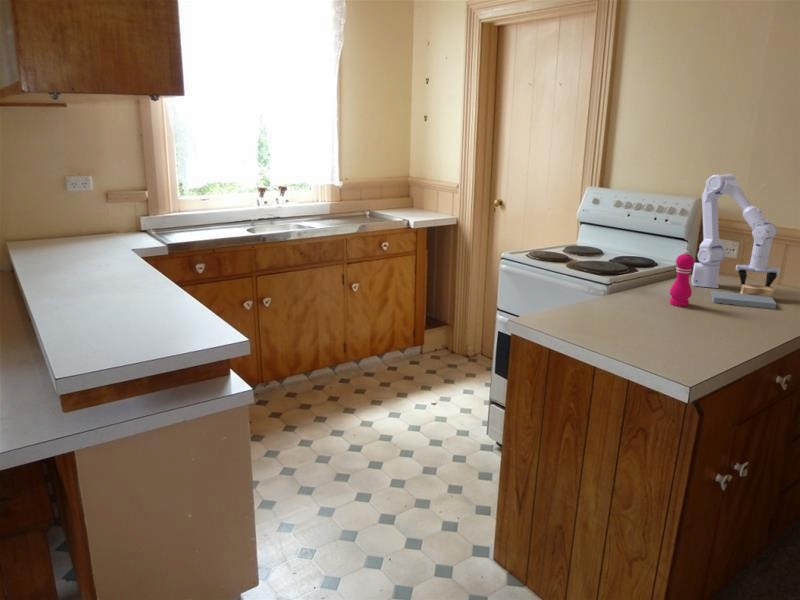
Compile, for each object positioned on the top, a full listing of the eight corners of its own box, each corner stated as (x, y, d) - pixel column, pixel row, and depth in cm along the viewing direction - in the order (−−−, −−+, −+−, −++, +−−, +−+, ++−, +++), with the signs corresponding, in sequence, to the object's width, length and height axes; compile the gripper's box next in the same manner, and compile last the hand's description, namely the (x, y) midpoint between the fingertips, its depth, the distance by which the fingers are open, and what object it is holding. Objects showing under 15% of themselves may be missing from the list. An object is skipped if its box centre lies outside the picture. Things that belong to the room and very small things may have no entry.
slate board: (713, 302, 230) (714, 297, 229) (710, 295, 239) (711, 290, 238) (775, 309, 223) (776, 303, 223) (770, 301, 232) (771, 296, 232)
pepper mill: (668, 305, 226) (675, 251, 220) (668, 300, 232) (675, 247, 226) (690, 308, 223) (698, 253, 217) (689, 302, 229) (697, 249, 224)
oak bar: (741, 298, 235) (743, 287, 234) (739, 295, 240) (741, 283, 238) (771, 301, 232) (774, 290, 231) (769, 298, 237) (771, 286, 235)
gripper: (740, 256, 233) (734, 291, 237) (784, 259, 229) (777, 295, 233) (737, 252, 240) (731, 286, 244) (780, 255, 235) (773, 290, 239)
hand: (753, 290), depth 239 cm, fingers open, 7 cm apart
